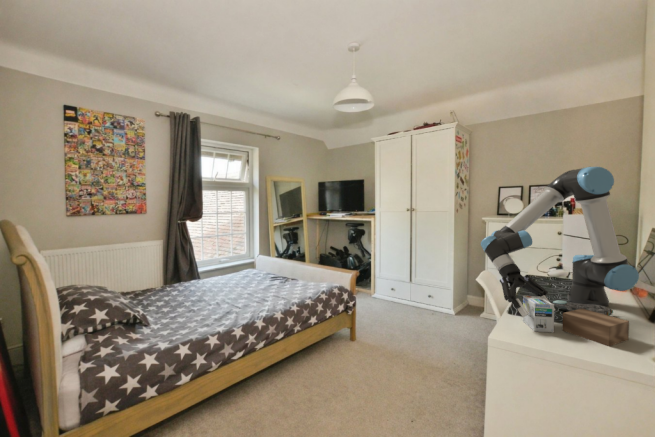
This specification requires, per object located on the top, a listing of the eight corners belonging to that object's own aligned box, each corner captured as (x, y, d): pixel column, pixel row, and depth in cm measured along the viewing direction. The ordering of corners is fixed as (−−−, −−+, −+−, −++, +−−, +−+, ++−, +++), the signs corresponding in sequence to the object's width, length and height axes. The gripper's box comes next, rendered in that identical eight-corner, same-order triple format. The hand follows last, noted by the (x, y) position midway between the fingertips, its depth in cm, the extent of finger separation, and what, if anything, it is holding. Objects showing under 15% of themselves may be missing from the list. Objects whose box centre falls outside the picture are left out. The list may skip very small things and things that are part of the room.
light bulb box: (554, 333, 110) (555, 304, 110) (534, 331, 112) (534, 303, 111) (540, 322, 121) (540, 295, 120) (521, 321, 122) (522, 295, 122)
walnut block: (581, 326, 117) (582, 308, 117) (628, 340, 104) (628, 321, 104) (562, 331, 113) (562, 312, 112) (608, 347, 100) (609, 326, 99)
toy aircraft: (556, 304, 142) (556, 293, 142) (614, 315, 127) (615, 303, 127) (547, 313, 131) (548, 301, 131) (610, 326, 116) (610, 312, 116)
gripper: (523, 270, 135) (556, 314, 121) (478, 274, 128) (508, 321, 114) (534, 260, 130) (570, 305, 116) (488, 264, 123) (520, 312, 109)
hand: (539, 313), depth 115 cm, fingers open, 13 cm apart
